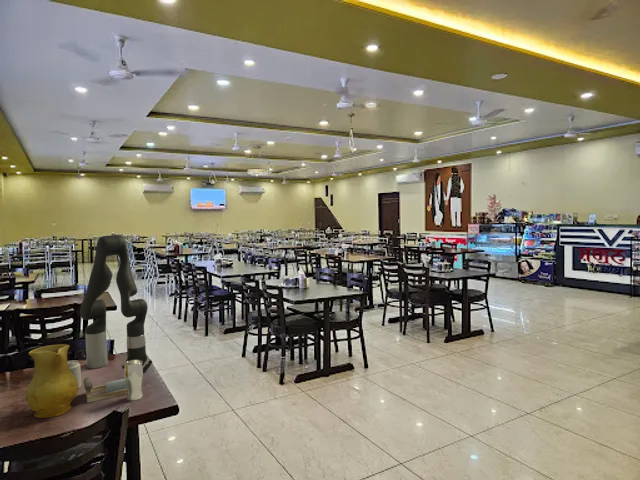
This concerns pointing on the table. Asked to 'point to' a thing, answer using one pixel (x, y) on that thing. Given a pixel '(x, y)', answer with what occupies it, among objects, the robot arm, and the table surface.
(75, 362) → the can
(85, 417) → the table surface
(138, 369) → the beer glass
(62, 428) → the table surface
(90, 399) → the bay
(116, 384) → the pale teal block
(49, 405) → the pitcher
